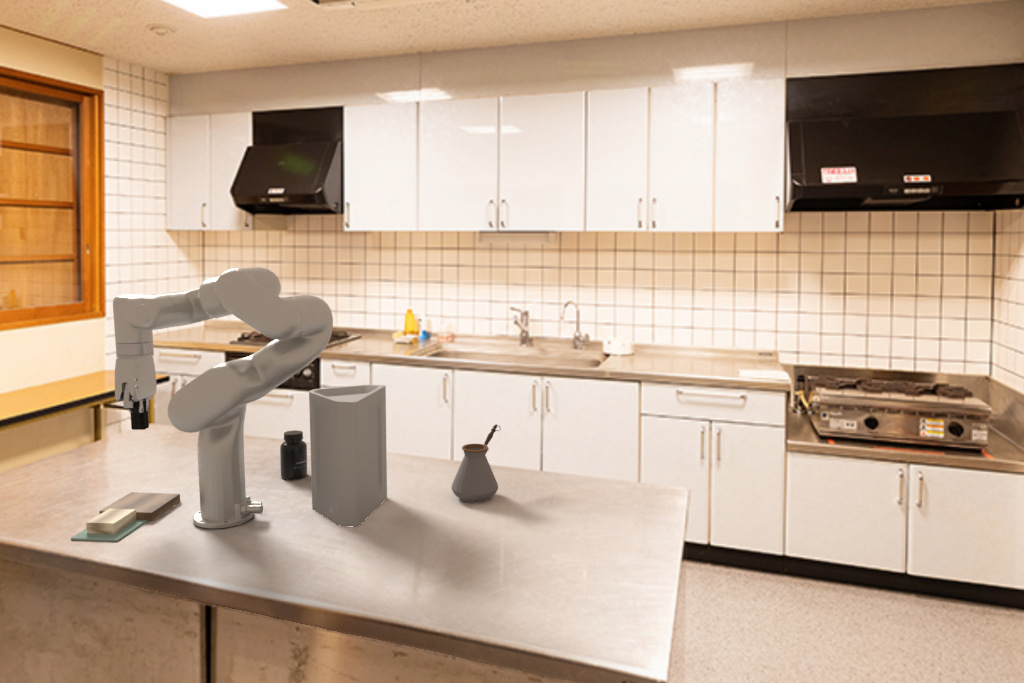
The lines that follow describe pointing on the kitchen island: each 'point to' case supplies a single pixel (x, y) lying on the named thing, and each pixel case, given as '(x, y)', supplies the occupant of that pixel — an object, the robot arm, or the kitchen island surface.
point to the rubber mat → (109, 537)
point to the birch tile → (111, 521)
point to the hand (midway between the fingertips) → (140, 428)
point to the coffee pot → (475, 474)
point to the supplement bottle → (293, 456)
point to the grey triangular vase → (348, 452)
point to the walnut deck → (146, 504)
